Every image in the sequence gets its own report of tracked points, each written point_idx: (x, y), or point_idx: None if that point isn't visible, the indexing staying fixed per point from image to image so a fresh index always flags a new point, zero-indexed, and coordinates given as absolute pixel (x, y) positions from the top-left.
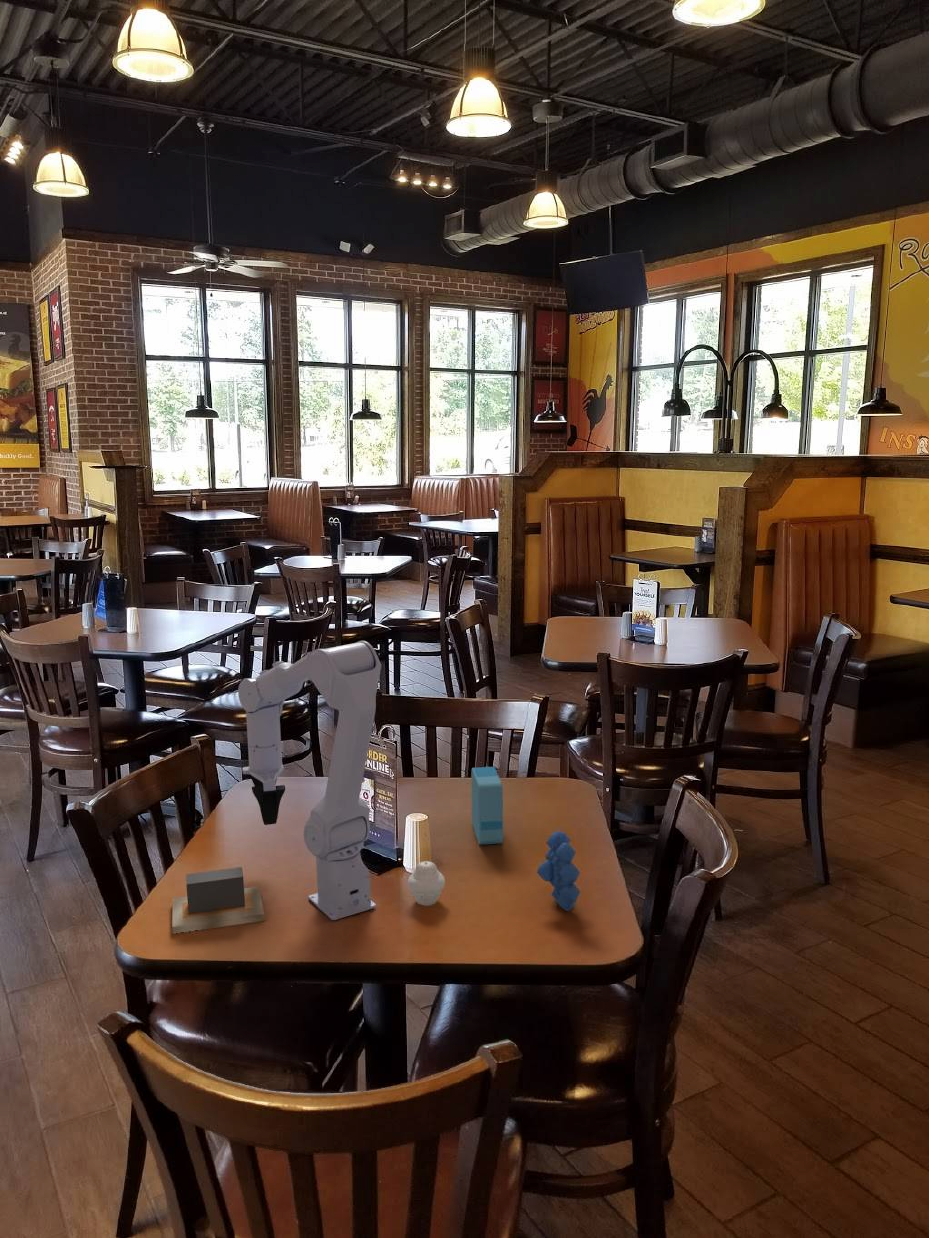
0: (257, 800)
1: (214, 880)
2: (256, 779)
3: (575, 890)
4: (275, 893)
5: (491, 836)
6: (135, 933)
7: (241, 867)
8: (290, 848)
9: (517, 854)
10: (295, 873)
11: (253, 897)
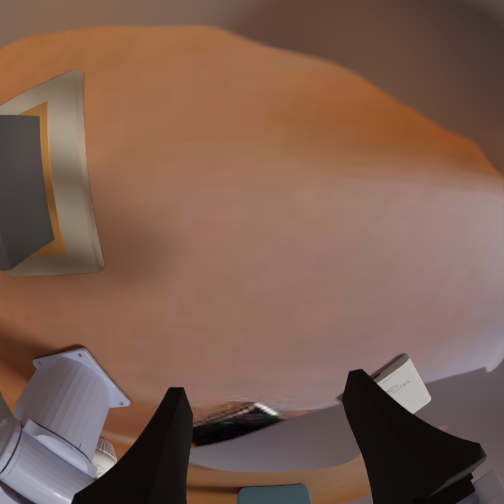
0: (103, 475)
1: None
2: (409, 473)
3: None
4: (103, 297)
5: (237, 499)
6: (15, 48)
7: (8, 268)
8: (332, 330)
9: (212, 495)
10: (194, 339)
11: (54, 259)
